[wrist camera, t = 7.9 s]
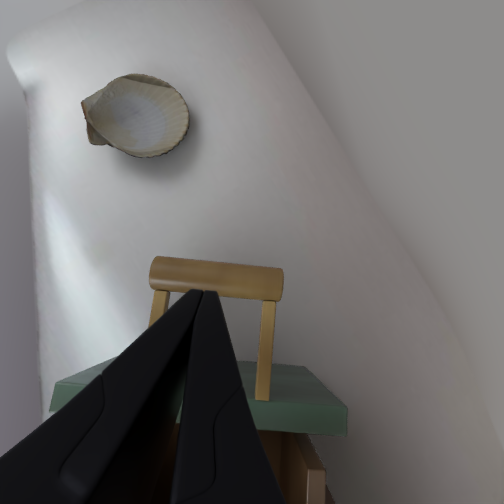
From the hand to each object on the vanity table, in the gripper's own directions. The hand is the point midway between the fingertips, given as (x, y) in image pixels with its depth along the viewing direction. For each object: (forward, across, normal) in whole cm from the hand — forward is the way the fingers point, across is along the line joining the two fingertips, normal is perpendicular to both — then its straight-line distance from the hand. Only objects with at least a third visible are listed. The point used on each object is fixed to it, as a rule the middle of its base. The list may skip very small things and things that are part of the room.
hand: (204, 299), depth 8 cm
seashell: (+19, +9, -2) cm, 21 cm away
